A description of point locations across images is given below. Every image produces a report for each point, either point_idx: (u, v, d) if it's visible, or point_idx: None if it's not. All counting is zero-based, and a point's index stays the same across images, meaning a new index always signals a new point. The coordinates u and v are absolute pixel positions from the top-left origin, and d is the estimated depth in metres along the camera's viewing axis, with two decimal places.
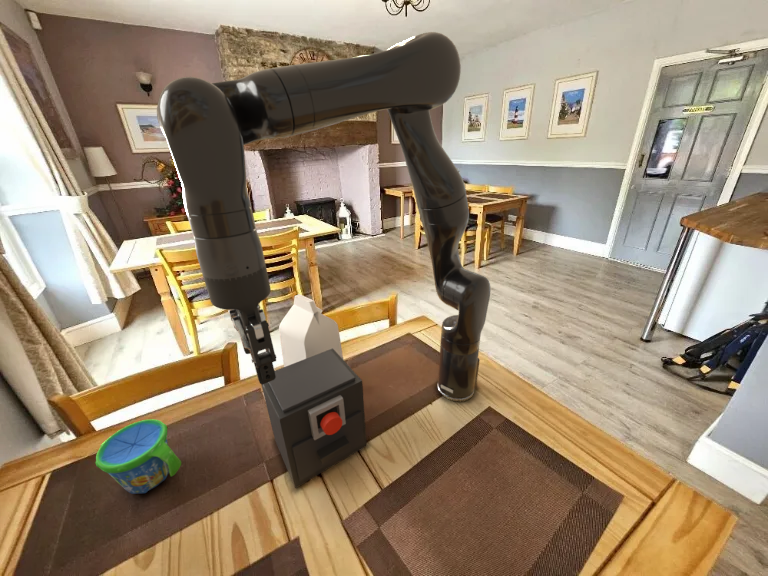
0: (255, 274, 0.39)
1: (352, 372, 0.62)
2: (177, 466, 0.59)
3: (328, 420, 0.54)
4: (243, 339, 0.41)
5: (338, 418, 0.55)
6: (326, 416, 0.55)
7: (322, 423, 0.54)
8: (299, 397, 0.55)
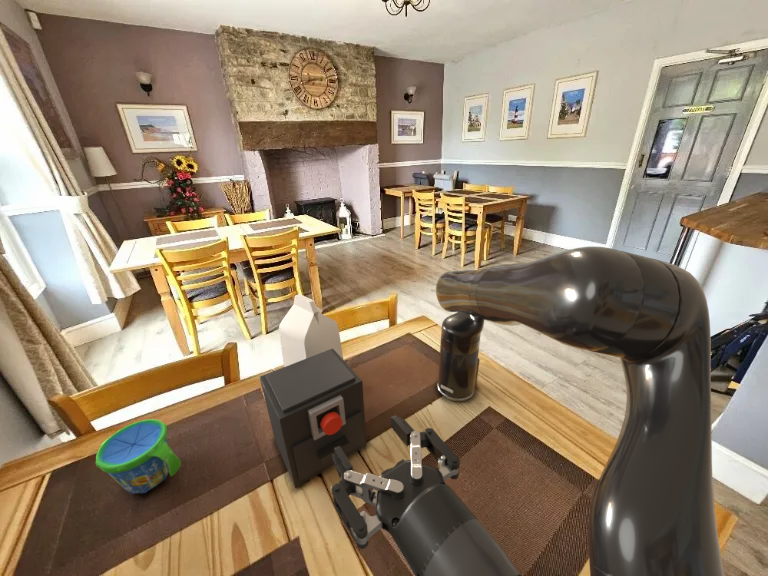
0: (476, 517, 0.30)
1: (352, 372, 0.62)
2: (177, 466, 0.59)
3: (328, 420, 0.54)
4: None
5: (338, 418, 0.55)
6: (326, 416, 0.55)
7: (322, 423, 0.54)
8: (299, 397, 0.55)
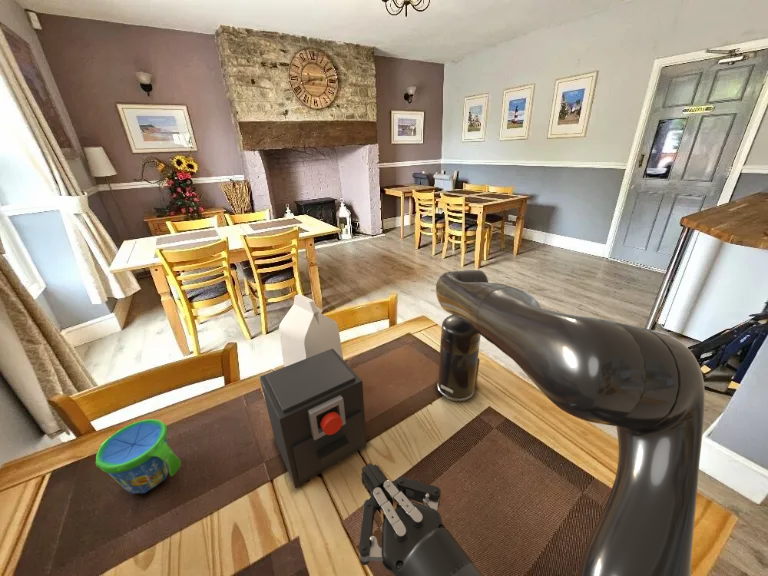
0: (471, 560, 0.34)
1: (352, 372, 0.62)
2: (177, 466, 0.59)
3: (328, 420, 0.54)
4: None
5: (338, 418, 0.55)
6: (326, 416, 0.55)
7: (322, 423, 0.54)
8: (299, 397, 0.55)
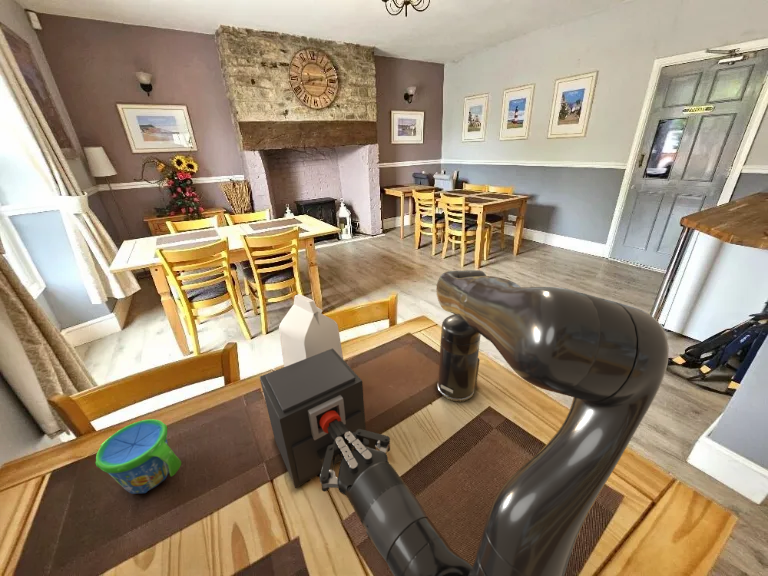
0: None
1: (352, 372, 0.62)
2: (177, 466, 0.59)
3: (327, 418, 0.54)
4: None
5: (337, 416, 0.55)
6: (325, 415, 0.55)
7: (321, 421, 0.55)
8: (299, 397, 0.55)
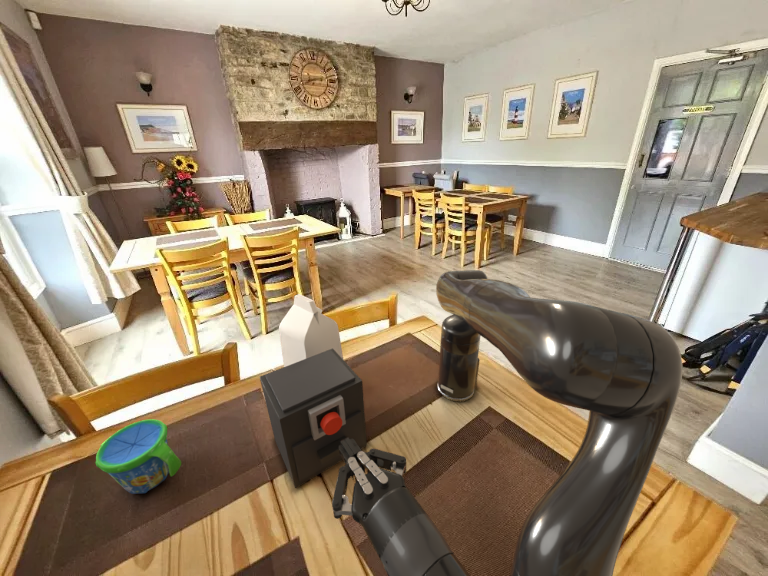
0: (425, 512, 0.40)
1: (352, 372, 0.62)
2: (177, 466, 0.59)
3: (328, 420, 0.54)
4: None
5: (338, 418, 0.55)
6: (326, 416, 0.55)
7: (322, 423, 0.54)
8: (299, 397, 0.55)
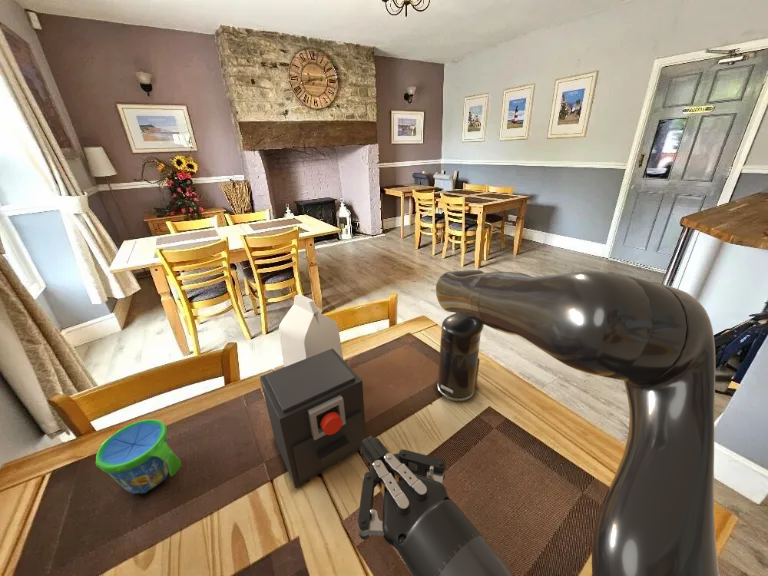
0: (480, 533, 0.31)
1: (352, 372, 0.62)
2: (177, 466, 0.59)
3: (328, 420, 0.54)
4: None
5: (338, 418, 0.55)
6: (326, 416, 0.55)
7: (322, 423, 0.54)
8: (299, 397, 0.55)
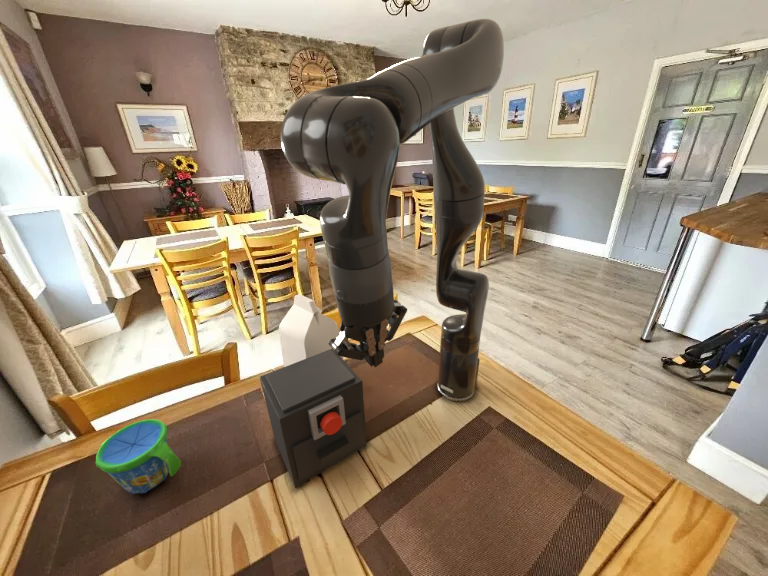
0: None
1: (352, 372, 0.62)
2: (177, 466, 0.59)
3: (328, 420, 0.54)
4: (386, 332, 0.45)
5: (338, 418, 0.55)
6: (326, 416, 0.55)
7: (322, 423, 0.54)
8: (299, 397, 0.55)
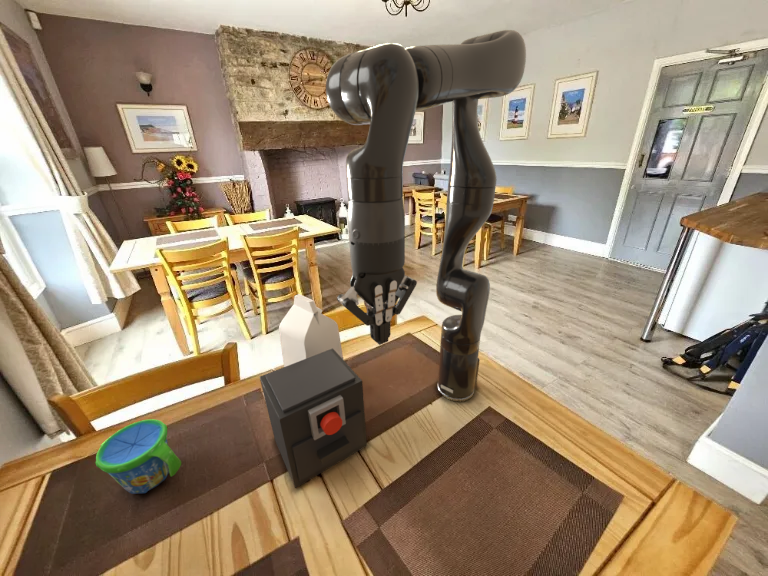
0: None
1: (352, 372, 0.62)
2: (177, 466, 0.59)
3: (328, 420, 0.54)
4: None
5: (338, 418, 0.55)
6: (326, 416, 0.55)
7: (322, 423, 0.54)
8: (299, 397, 0.55)
